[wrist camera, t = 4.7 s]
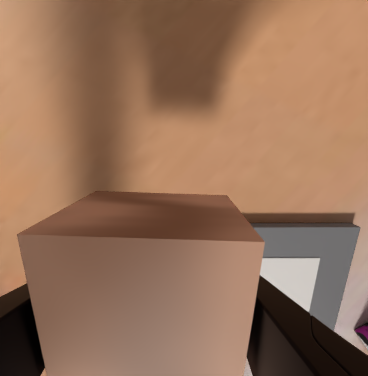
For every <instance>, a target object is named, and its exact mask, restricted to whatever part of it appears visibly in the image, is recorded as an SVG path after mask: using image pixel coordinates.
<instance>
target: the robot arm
mask: <svg viewBox="0 0 368 376" xmlns="http://www.w3.org/2000/svg"><path fill="white" fill-rule="evenodd" d="M247 359H248V362H249V365H250V369H251V372H252V375H253V376H368V355H366V354H365V353H364V352H362V351H361V350H359V349H358V348H356V347H355V346H354V345H352V344H351V343H349V342H348V341H346V340H345V339H344V338H342V337H341V336H340V335H338V334H337V333H335V332H334V331H333V330H331V329H330V328H329V327H327V326H326V325H325V324H323V323H322V322H321V321H319V320H318V319H317V318H316V317H314V316H313V315H311V314H310V313H309V312H308V311H306V310H305V309H304V308H302V307H301V306H300V305H299V304H297V303H296V302H295V301H293V300H292V299H291V298H289V297H288V296H287V295H285V294H284V293H283V292H282V291H280V290H279V289H278V288H276V287H275V286H274V285H272V284H271V283H270V282H269V281H267V280H266V279H265V278H263V277H262V276H261V275H260V276H259V282H258V288H257V295H256V301H255V307H254V313H253V319H252V326H251V332H250V338H249V344H248V350H247ZM44 368H45V364H44V359H43V355H42V350H41V345H40V341H39V336H38V331H37V326H36V322H35V317H34V312H33V308H32V303H31V298H30V294H29V289H28V284H25V285H23V286H21V287H19V288H17V289H15V290H13V291H11V292H9V293H7V294H5V295H3V296H1V297H0V376H40V375H41V374H42V372H43V370H44Z"/></svg>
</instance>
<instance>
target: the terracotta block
mask: <svg viewBox="0 0 368 376" xmlns="http://www.w3.org/2000/svg"><path fill="white" fill-rule="evenodd" d="M17 237H18V242H19V247H20V251H21V256H22V261H23V265H24V270H25V275H26V279H27V284H28V289H29V294H30V298H31V303H32V308H33V312H34V317H35V322H36V326H37V331H38V336H39V341H40V345H41V350H42V355H43V359H44V364H45V369H46V373H47V376H243V375H244V369H245V363H246V357H247V350H248V344H249V338H250V332H251V326H252V319H253V313H254V307H255V301H256V295H257V288H258V282H259V276H260V270H261V264H262V257H263V251H264V245H265V242H264V240H263V239H262V238H261V237H260V235H259V234H258V233H257V232H256V231H255V229H254V228H253V227H252V226H251V224H250V223H249V222H248V221H247V219H246V218H245V217H244V216H243V215H242V213H241V212H240V211H239V210H238V208H237V207H236V206H235V205H234V204H233V202H232V201H231V200H230V199H229V197H228V196H227V195H199V194H169V193H138V192H108V191H95V192H93V193H92V194H90V195H88V196H86V197H84V198H82V199H81V200H79V201H77V202H75V203H73V204H71V205H70V206H68V207H66V208H64V209H62V210H61V211H59V212H57V213H55V214H53V215H51V216H50V217H48V218H46V219H44V220H42V221H40V222H39V223H37V224H35V225H33V226H31V227H30V228H28V229H26V230H24V231H22V232H20V233H19V234H17Z"/></svg>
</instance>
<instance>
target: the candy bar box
mask: <svg viewBox="0 0 368 376" xmlns="http://www.w3.org/2000/svg"><path fill="white" fill-rule="evenodd" d="M354 331H355V332H356V334H357V335H358V336H359V338H360V339H361V341H362V342H363V344H364V345H365V347H366V348H367V350H368V323H367V324H366V325H364V326H362V327H360V328H358V329H356V330H354Z"/></svg>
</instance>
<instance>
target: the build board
mask: <svg viewBox="0 0 368 376" xmlns="http://www.w3.org/2000/svg"><path fill="white" fill-rule="evenodd" d="M250 224H251V226H252V227H253V228H254V229H255V231H256V232H257V233H258V234H259V235H260V237H261V238H262V239H263V240H264V242H265V245H264V251H263V257H262V264H261V270H260V275H261V276H262V277H263V278H265V279H266V280H267V281H269V282H270V283H271V284H272V285H274V286H275V287H276V288H278V289H279V290H280V291H282V292H283V293H284V294H285V295H287V296H288V297H289V298H291V299H292V300H293V301H295V302H296V303H297V304H299V305H300V306H301V307H302V308H304V309H305V310H306V311H308V312H309V313H310V314H311V315H313V316H314V317H316V318H317V319H318V320H319V321H321V322H322V323H323V324H325V325H326V326H327V327H329V328H330V329H331V330H333V331H334V327H335V324H336V320H337V316H338V312H339V308H340V304H341V300H342V297H343V293H344V289H345V285H346V281H347V277H348V273H349V270H350V266H351V262H352V258H353V254H354V250H355V246H356V243H357V239H358V235H359V231H360V227H359V226H357V225H354V224H352V223H250Z"/></svg>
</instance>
